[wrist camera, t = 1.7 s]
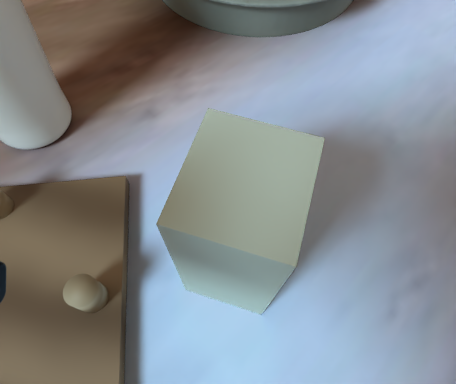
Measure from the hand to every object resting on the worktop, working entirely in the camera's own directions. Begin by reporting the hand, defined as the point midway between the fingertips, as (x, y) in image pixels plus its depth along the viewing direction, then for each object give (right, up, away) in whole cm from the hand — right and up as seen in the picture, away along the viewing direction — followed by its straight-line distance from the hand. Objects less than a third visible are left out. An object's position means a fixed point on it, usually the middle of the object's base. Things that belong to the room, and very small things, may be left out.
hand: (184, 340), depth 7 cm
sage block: (+1, -1, +13) cm, 13 cm away
